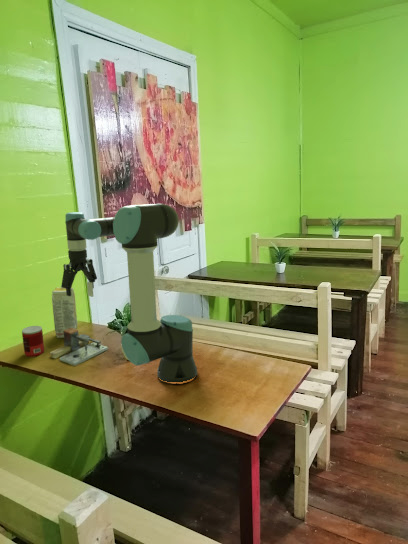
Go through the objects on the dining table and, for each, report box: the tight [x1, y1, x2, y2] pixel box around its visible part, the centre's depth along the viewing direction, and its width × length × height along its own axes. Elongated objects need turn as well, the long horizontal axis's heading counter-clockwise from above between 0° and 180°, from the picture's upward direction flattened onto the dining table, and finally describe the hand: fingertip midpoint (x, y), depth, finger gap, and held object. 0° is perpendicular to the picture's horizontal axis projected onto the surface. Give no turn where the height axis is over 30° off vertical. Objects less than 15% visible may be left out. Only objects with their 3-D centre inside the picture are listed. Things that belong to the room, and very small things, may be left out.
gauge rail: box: [49, 333, 102, 359], centre depth 171 cm, size 13×18×4 cm
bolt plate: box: [59, 342, 109, 367], centre depth 169 cm, size 9×18×1 cm, turn 147°
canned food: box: [21, 325, 45, 358], centre depth 169 cm, size 8×8×11 cm
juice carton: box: [51, 286, 78, 339], centre depth 186 cm, size 9×8×24 cm
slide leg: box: [63, 328, 90, 352], centre depth 171 cm, size 13×4×8 cm, turn 57°
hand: (81, 299), depth 175 cm, fingers open, 10 cm apart
